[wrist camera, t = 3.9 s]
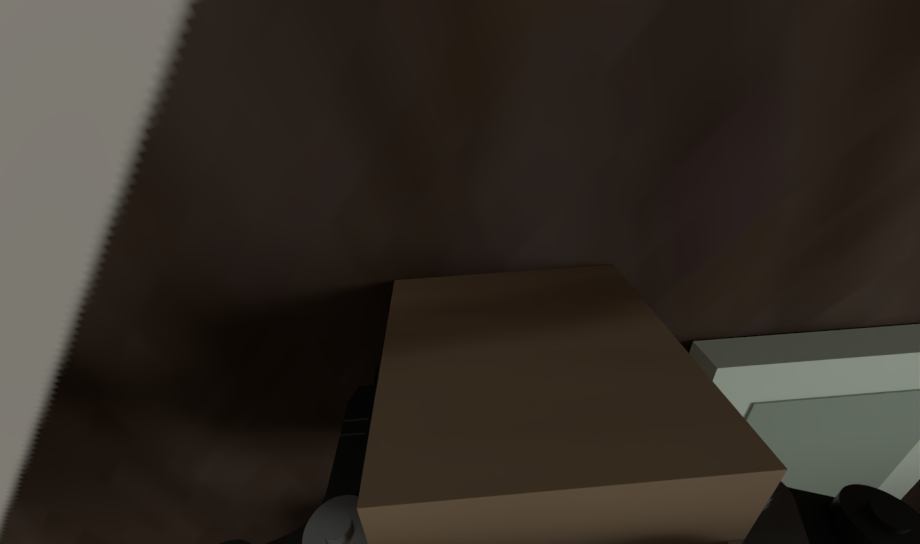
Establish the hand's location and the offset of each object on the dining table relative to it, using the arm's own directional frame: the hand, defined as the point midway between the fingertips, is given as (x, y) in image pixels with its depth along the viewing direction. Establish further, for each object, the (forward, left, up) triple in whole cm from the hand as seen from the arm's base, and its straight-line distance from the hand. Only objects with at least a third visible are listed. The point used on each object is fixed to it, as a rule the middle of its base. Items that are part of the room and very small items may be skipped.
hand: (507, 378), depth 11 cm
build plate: (+5, +11, -1) cm, 12 cm away
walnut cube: (0, 0, -1) cm, 1 cm away
